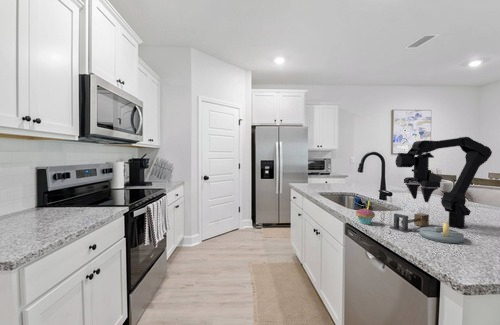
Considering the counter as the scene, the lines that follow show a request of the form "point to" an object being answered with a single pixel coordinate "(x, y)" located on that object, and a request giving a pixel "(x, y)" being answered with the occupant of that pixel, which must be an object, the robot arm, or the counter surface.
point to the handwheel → (442, 234)
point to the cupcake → (365, 215)
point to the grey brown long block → (420, 219)
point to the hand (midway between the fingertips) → (420, 200)
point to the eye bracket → (404, 223)
